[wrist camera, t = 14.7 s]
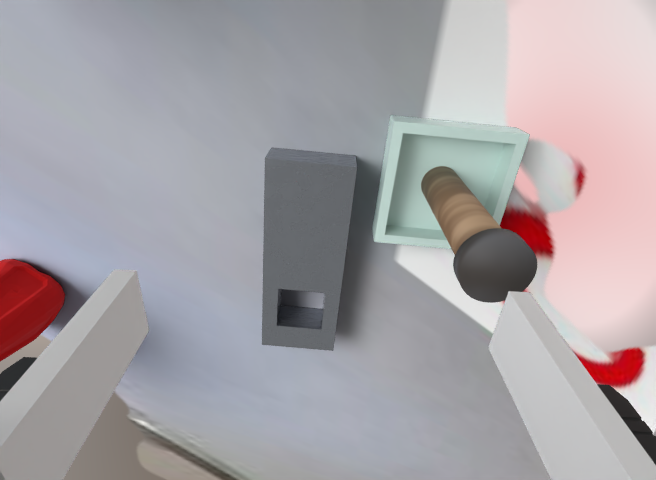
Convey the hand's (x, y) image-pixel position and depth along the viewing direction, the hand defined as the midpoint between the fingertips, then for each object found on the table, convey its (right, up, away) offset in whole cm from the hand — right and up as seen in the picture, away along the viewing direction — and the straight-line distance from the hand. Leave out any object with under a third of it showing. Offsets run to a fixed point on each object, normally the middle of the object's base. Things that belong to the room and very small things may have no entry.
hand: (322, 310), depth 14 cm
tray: (+12, +9, +29) cm, 32 cm away
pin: (+12, +9, +28) cm, 32 cm away
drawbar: (-2, +1, +33) cm, 33 cm away
